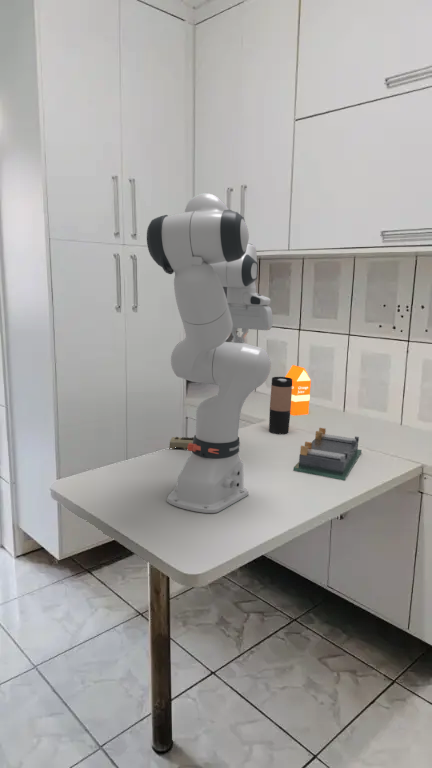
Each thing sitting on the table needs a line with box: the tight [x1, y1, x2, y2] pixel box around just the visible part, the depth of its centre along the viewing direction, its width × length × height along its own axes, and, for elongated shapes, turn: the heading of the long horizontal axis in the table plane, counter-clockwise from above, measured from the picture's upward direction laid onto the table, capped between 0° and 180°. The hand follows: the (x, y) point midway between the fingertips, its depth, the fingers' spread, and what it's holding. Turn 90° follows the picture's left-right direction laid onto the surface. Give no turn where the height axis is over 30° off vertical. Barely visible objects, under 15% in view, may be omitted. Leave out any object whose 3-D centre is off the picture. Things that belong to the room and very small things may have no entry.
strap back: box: [322, 433, 356, 443], centre depth 170 cm, size 3×12×1 cm, turn 65°
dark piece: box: [292, 427, 362, 481], centre depth 162 cm, size 28×15×7 cm, turn 155°
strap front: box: [308, 449, 346, 459], centre depth 154 cm, size 3×12×1 cm, turn 65°
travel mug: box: [268, 376, 292, 435], centre depth 191 cm, size 8×8×20 cm
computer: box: [168, 436, 194, 451], centre depth 172 cm, size 16×8×3 cm, turn 89°
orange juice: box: [284, 364, 312, 417], centre depth 221 cm, size 8×9×20 cm
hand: (238, 342), depth 163 cm, fingers closed
